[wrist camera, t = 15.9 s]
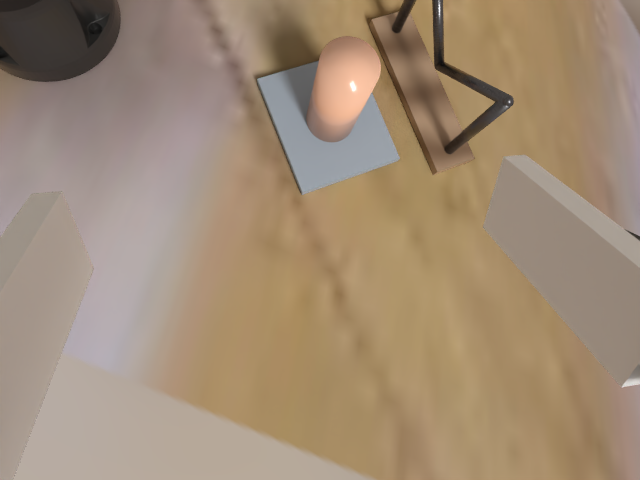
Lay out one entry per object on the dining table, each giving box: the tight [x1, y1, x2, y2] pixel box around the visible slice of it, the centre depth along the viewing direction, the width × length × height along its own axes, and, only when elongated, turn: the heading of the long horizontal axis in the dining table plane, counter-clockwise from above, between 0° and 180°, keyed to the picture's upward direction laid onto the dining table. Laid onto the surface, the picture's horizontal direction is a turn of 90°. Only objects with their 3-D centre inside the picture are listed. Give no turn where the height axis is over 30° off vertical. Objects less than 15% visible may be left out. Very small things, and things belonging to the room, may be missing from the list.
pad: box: [257, 61, 400, 195], centre depth 48 cm, size 14×12×1 cm
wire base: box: [369, 12, 474, 175], centre depth 50 cm, size 20×5×1 cm, turn 22°
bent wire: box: [392, 0, 514, 154], centre depth 43 cm, size 17×1×12 cm, turn 22°
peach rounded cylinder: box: [306, 36, 381, 142], centre depth 42 cm, size 6×6×11 cm
